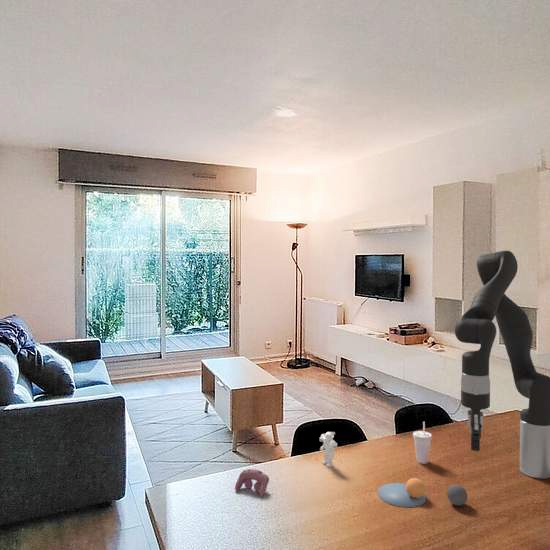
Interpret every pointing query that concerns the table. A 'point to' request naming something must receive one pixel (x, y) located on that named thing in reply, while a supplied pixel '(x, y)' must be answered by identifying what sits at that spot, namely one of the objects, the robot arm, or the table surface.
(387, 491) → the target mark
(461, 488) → the grey ball
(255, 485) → the red animal figurine
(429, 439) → the smoothie
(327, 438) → the white humanoid figurine
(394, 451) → the table surface
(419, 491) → the object ball
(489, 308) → the robot arm
